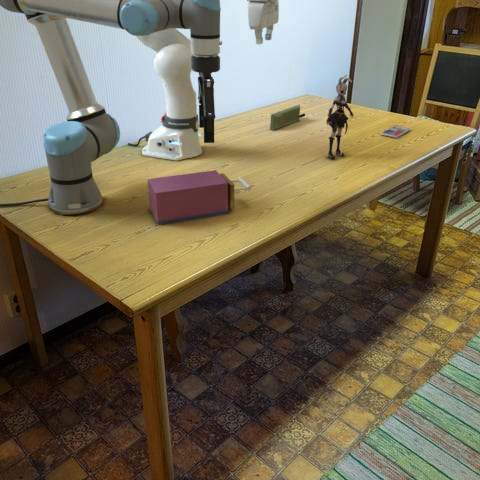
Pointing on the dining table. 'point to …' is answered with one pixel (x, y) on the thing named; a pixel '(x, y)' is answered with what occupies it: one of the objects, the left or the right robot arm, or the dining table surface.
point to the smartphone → (395, 131)
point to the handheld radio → (285, 117)
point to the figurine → (338, 116)
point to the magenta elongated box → (187, 196)
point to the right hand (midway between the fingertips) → (263, 42)
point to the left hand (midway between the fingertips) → (206, 134)
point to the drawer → (231, 189)
